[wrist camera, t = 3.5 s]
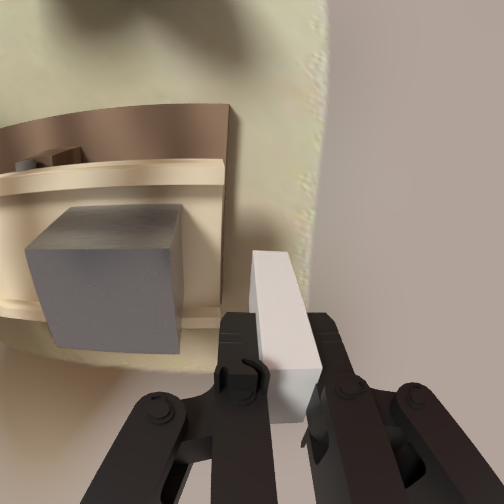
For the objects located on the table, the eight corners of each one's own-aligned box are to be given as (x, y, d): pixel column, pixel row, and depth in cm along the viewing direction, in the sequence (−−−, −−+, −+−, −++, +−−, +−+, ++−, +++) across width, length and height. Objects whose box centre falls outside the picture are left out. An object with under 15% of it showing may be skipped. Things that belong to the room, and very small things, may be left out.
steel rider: (86, 288, 16) (56, 346, 11) (70, 206, 13) (24, 249, 9) (184, 290, 16) (179, 354, 12) (181, 203, 14) (169, 248, 10)
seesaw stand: (3, 276, 23) (-22, 302, 19) (-22, 135, 17) (-58, 146, 12) (222, 295, 25) (219, 336, 20) (229, 104, 18) (226, 102, 14)
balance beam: (-40, 288, 16) (-64, 317, 12) (-67, 180, 12) (-102, 199, 8) (217, 299, 20) (221, 346, 16) (222, 146, 16) (227, 160, 12)
